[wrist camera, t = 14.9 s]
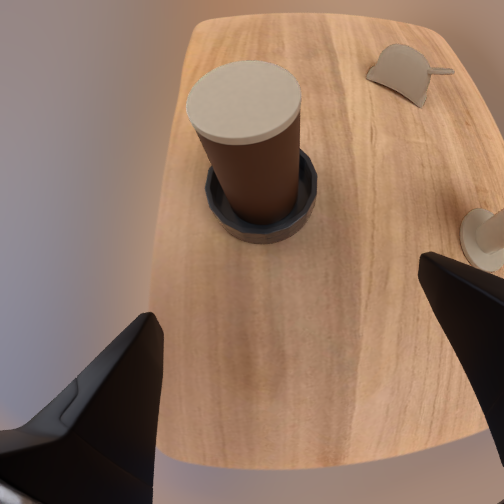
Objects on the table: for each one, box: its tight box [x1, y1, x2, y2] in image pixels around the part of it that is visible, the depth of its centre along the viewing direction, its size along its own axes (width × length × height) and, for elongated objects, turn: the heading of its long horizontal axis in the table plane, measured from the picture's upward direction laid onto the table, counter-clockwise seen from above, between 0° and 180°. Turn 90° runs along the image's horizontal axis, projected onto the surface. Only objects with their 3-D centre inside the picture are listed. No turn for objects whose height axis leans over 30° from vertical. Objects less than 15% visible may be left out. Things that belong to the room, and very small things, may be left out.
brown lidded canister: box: [186, 60, 301, 225], centre depth 18 cm, size 6×6×11 cm
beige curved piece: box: [366, 44, 455, 108], centre depth 23 cm, size 4×8×5 cm, turn 52°
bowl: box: [205, 149, 317, 244], centre depth 23 cm, size 8×8×2 cm
